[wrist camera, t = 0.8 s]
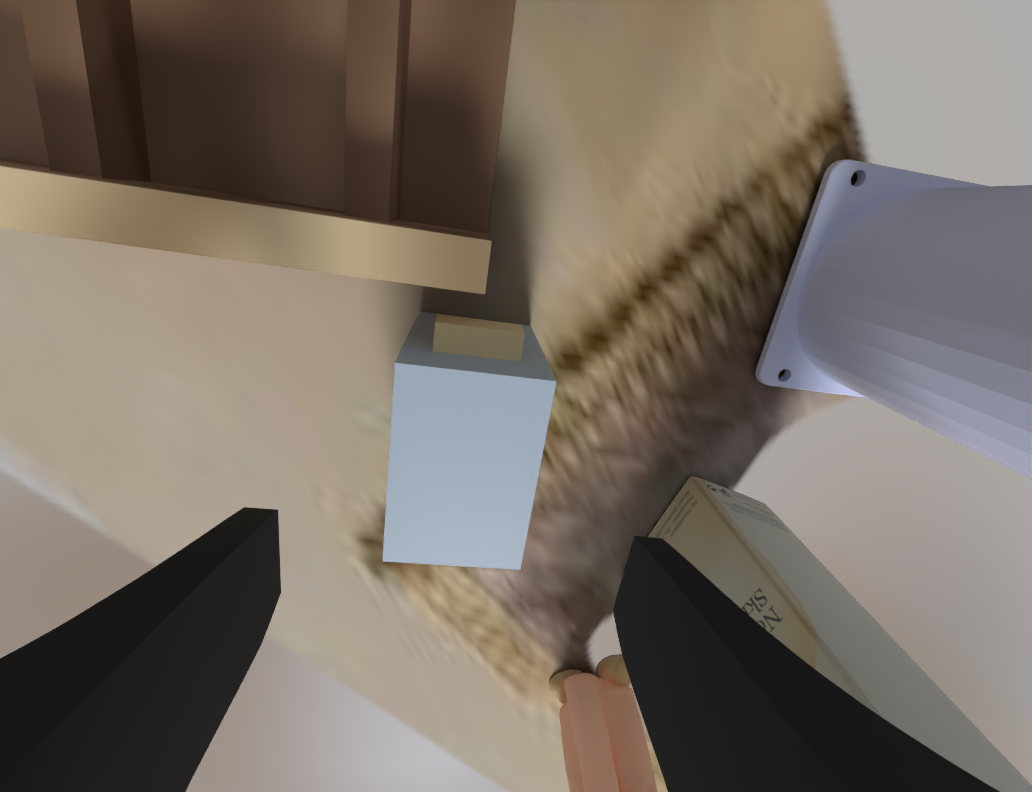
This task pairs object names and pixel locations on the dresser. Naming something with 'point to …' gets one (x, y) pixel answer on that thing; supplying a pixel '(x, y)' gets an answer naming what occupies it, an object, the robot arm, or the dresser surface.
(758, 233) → the dresser surface
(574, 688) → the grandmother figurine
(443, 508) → the cabinet block
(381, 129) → the rack
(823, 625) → the skincare box
